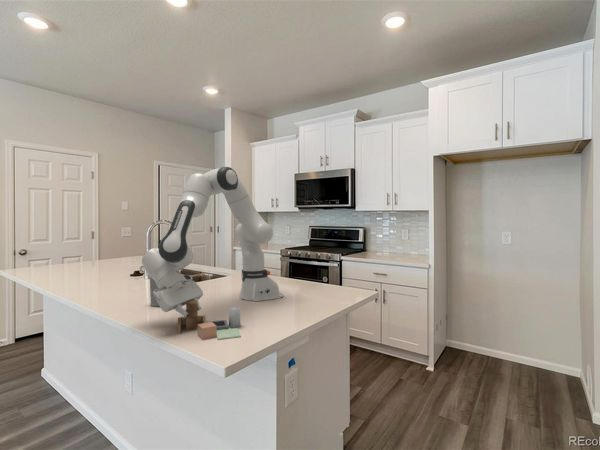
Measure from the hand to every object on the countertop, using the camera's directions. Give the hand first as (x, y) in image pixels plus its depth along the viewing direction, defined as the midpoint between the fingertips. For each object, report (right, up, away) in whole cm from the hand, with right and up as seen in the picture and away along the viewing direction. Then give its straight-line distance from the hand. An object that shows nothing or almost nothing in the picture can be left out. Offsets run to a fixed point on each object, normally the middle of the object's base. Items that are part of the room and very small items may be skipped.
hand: (193, 312), depth 123 cm
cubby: (-1, -6, 0) cm, 6 cm away
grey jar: (+15, -6, +3) cm, 16 cm away
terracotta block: (+7, -6, -7) cm, 12 cm away
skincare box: (-25, -5, +32) cm, 41 cm away
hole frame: (+9, -6, +1) cm, 11 cm away
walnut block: (-1, -6, 0) cm, 6 cm away
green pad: (+14, -6, -6) cm, 17 cm away
